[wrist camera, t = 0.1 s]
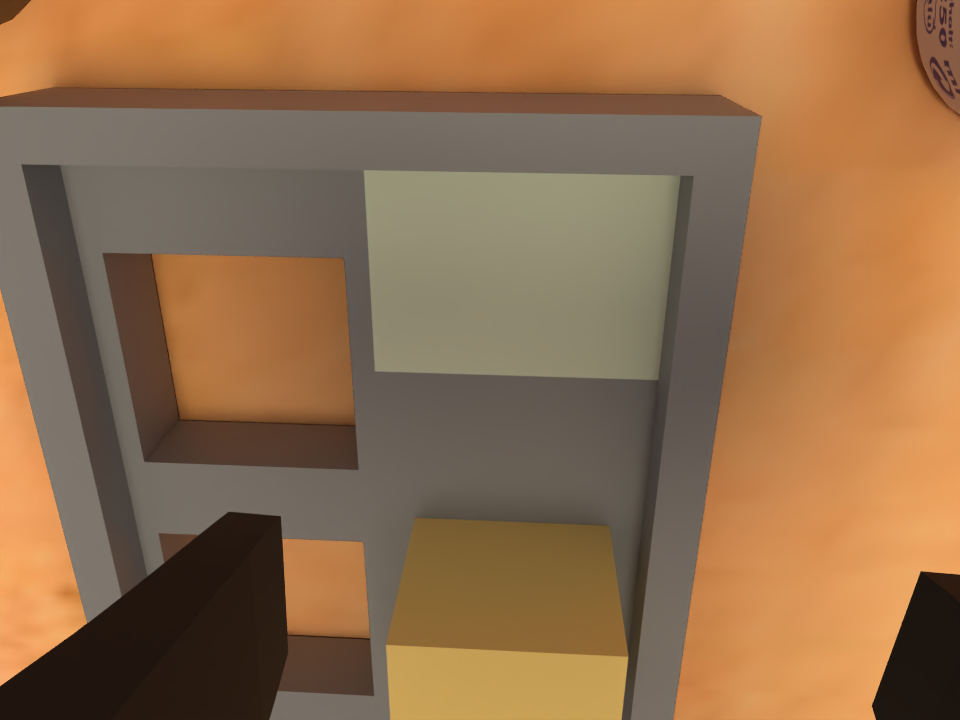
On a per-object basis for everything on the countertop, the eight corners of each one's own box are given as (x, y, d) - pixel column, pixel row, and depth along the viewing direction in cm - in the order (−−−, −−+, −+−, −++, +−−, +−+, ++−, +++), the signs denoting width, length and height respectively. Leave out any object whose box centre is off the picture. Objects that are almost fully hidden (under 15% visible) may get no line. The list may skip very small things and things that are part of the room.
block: (596, 671, 20) (610, 820, 16) (419, 662, 20) (395, 807, 17) (609, 525, 18) (628, 657, 15) (415, 517, 18) (385, 644, 15)
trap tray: (635, 776, 24) (649, 880, 21) (190, 750, 25) (145, 848, 22) (720, 95, 16) (761, 116, 13) (52, 87, 17) (-48, 105, 14)
